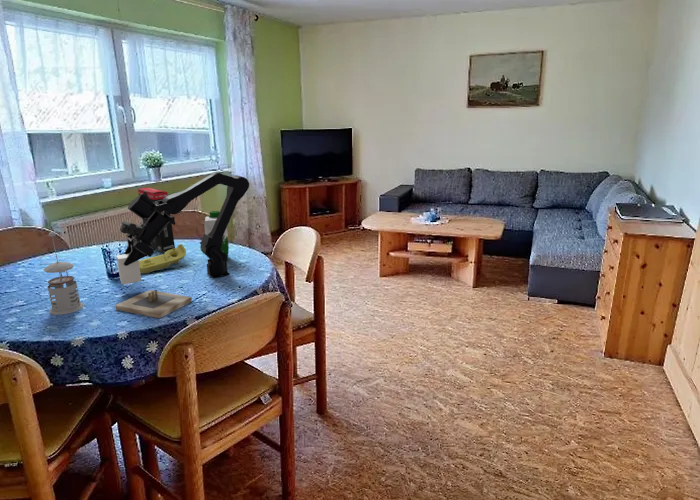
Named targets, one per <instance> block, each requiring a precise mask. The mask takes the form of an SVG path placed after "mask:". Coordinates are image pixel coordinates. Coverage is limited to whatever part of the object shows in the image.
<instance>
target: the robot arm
mask: <svg viewBox="0 0 700 500" xmlns="http://www.w3.org/2000/svg"><path fill="white" fill-rule="evenodd" d="M218 185H222V186H226V196H225V199H224V201H223V204H222V206H221V208H220V211H219V212H220V213H219V215H218V217H217V219H216V222H215V224H214V226H213V229H212V231H211V232H210V233H209V234H208V235H206V234H205V233H203V235H202V239H201V241H200V242H199V244H200V246H199V247H200V251H201V252H202V253H203V254H204V255H205V256H206V257H207V258H208V259H207V263H206V270H207V271H206V272H207V274H206V275H207V276H209V277H211V278H213V279H217V278H221V277H225V276H230V272H228V270H229V269H228V261H227V257H228V258H229V254H228V255H227V254H225V253H224V252H222V251H221V249H222V244H223V235H224V233H225V230H226V228H227V229H228V226H229V223H230V220H231V219H232V216H233V213H234V212H235V209H236V207H237V204H238V203H239V202H240V200H241V199H243V197H244V196H245V194H246V193H247V191H248V190H249V188H250V182H249V180H248V179H247V178H246V177H244V176H241V175H238V174H237V175H232V176H229V175H226V174H223V173H221V172H218V171H212V173H210V175H207V176H206V177H204V178H202V179H201V180H199V181H197V182H196V183H194V184H192V185H190V186H189V187H187V188H186V189H184V190H181V191H179V192H175V193H172V194H168V196H166V197H165V198H163V200H160V201H156V202H152V201H150V200H149V199H148V198H147V197H146V196H144V195H143V194H140V195H139V194H138V196H136V197H135V198H134V199H133V200H132V201H130V203H129V204H128V206H127V209H128V210H129V211H130V212H131V213H133V214H135V215H136V216H138V217H139V218H140V219H142V220H143V219H144V218H149V217H150V216H151V215H152V216H151V217H150V218H149V219H148V220H147V222H146V223H145V224H144V223H143V222H142V223H141V224H140V225H137V224H136V223H133V222H127V221H122V222H121V225H120V227H119V228H120V229H119V231H120V233H122V234H126V235H125V236H126V243H127V247H126V249H125V251H124V253H123V254H129V253H130V254H129V255H128V257H127V259H126V260H125V262H124V265H125V266H127V265H129V264H131V263H133V262H135V261H137V260H138V261H139V260H142V259H143V258H145V257H148V258H151V257H153V255H154V253H155V251H154V250H155V249H153V248H152V247H151V246H152V244H151V243H152V242H153V241H154V240H155V238H156V237H159V236H160V235H159V234H160V232H161V231H162V230H163V229H164V227H165V226H166V225H167V224H168V223H169V222H171V223H172V226H175V225H176V221H175V220H176V219H175V215H177V214H179V213H181V211H183V210H184V209H185V208H186V207H187V206H188V205H189V203H190V202H192V201H193V200H195V199H196V198H198V197H200V196H201V195H203V194H204V193H206V192H208V191H209V190H212V189H213V188H215V187H216V186H218ZM155 208H158V209H159V210H160V211H167V212H168V213H170V215H171V216H169V215H168V214H166V213H165V212H161V213H159V212H158V211H157V210H155ZM154 211H155V212H154ZM153 212H154V213H153ZM173 215H174V216H173ZM209 258H210V259H209Z"/></svg>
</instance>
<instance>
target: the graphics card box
mask: <svg viewBox="0 0 700 500" xmlns="http://www.w3.org/2000/svg"><path fill="white" fill-rule="evenodd" d="M137 192H138V196H139V195H140V194H143V195H144V196H146V197H147V198H148V199H149V200H150V201H152V202H156V201H160V200H163V198H165V197H166V196H169V194H168V191H166V190H161V189H157V188H153V187H143V188H142V187H141V188H137ZM155 210H157V211H158V212H159V213H161V212H165V213H166V214H168V215H169V216H172V214H170V213H168V212H167V211H160V210H159V209H158V208H155ZM154 212H155V211H154ZM154 212H153V213H154ZM151 216H152V215H151ZM151 216H150V217H151ZM150 217H149V218H150ZM149 218H144V219H142V224H143V223H144V224H145V223H146V222H147V220H148V219H149ZM159 235H160V236H159V237H156V238H155V240H154V241H153V242H152V243H151V244H152V246H151V247H152V248H153V250H156V251H158V252H159V253H165V252H166V251H168V250H171V249H173V248H176V244H175V238H174V237H175V236H174V230H173V224H172V223H171V222H169V223H168V224H167V225H166V226H165V227H164V229H163V230H162V231H161V232H160V234H159Z"/></svg>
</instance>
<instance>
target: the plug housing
mask: <svg viewBox="0 0 700 500" xmlns="http://www.w3.org/2000/svg"><path fill="white" fill-rule="evenodd" d="M129 254H130V253H129ZM129 254H124V253H123V254H117V255H116V262H117V268H118V274H119V280H120V283H121V285H122V286H123V285H128V284H132V283H133V284H134V283H138V282H142V277H141V274H142V273H140V268H139V260H137V261H135V262H133V263H131V264H129V265H127V266H125V265H124V262H125V260H126V259H127V257H128V255H129Z"/></svg>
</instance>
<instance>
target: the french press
mask: <svg viewBox="0 0 700 500" xmlns="http://www.w3.org/2000/svg"><path fill="white" fill-rule="evenodd" d="M47 236H48V237H51V238H52V243H53V247H54V254H55V258H56V262H52V263H49V264H48V265H47V266H46V267H44V268H43V271H44V272H45V273H49V274H53V273H59V276H57V277H53V278H51V279H49V280H48V281H47V283H48V285H47V291H48V295H49V296H48V297H49V299H50V305H51V308H50V309H49V311H48V314H51V315H55V316H56V315H57V316H59V315H67V314H71V313H75V312H77V311H79V310H82V309H83V308H84V307H85V304H84V303H83V302H81V300H80V299H81V298H80V294H79V288H78V285H77V281H76V280H75V276H72V275H69V274H68V273H69V272H68V271H70V270H72V269H73V268H74V264H73V263H71V262H67V261H59V260H58V255H57V250H56V245H55V242H54V241H55V240H54V237H56V236H57V234H56V232H54V231H50V232H49V233H48V235H47ZM65 272H66V275H63V274H62V273H65ZM64 285H66V286H64ZM52 296H53V297H52Z"/></svg>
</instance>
